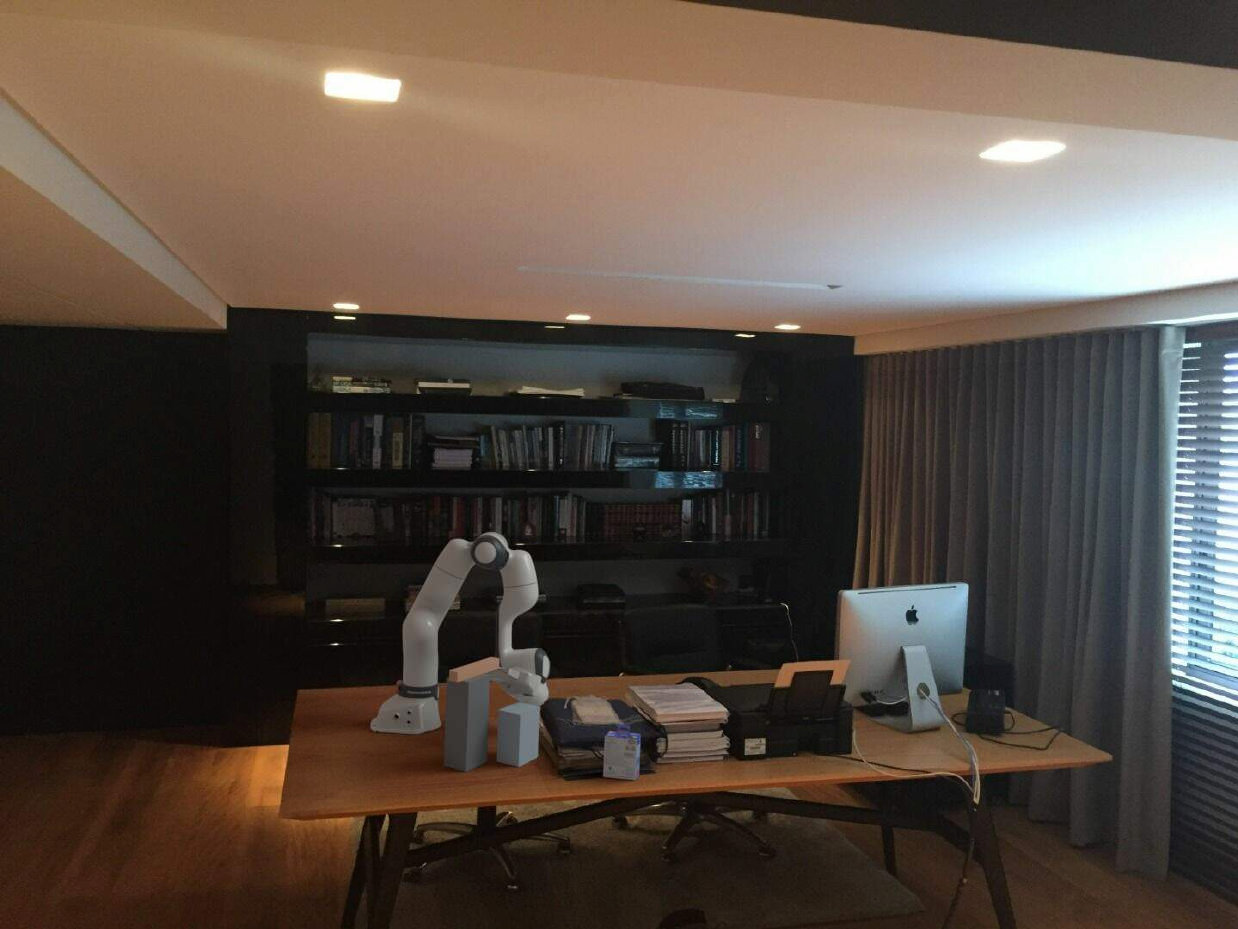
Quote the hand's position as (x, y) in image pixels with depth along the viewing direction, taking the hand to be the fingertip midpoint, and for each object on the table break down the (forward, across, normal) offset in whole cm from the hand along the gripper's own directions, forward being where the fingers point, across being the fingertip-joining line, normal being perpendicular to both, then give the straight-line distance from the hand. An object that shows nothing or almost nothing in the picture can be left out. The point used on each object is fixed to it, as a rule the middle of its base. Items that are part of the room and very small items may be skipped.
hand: (494, 668), depth 300 cm
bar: (+8, 0, +5) cm, 10 cm away
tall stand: (-2, 0, +29) cm, 29 cm away
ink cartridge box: (-18, +42, +20) cm, 50 cm away
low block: (-12, +10, +23) cm, 28 cm away
